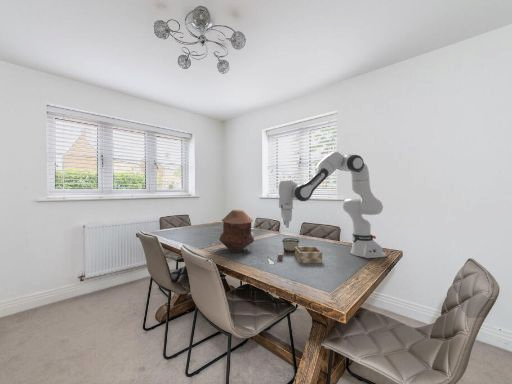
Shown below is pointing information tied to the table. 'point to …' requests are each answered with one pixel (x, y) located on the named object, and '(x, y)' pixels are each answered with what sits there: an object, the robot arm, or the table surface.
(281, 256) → the lid
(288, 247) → the food container
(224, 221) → the pottery vessel
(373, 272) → the table surface
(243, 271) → the table surface
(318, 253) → the box
